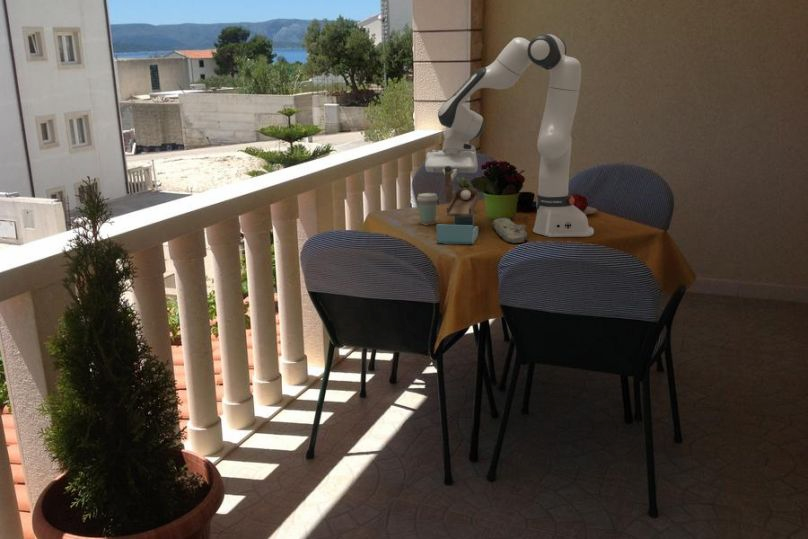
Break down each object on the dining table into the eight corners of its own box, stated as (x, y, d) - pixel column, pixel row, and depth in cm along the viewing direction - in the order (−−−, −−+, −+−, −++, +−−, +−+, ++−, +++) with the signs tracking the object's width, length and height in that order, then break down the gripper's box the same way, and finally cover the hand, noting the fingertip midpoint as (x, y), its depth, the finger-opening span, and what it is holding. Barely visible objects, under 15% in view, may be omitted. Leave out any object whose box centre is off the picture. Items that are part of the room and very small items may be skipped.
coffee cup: (436, 226, 292) (436, 196, 289) (415, 225, 294) (415, 196, 291) (439, 221, 300) (439, 192, 297) (419, 221, 302) (418, 192, 299)
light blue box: (477, 236, 273) (477, 218, 271) (472, 245, 261) (472, 225, 259) (443, 235, 276) (443, 217, 274) (436, 243, 264) (436, 224, 262)
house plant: (440, 212, 319) (439, 174, 315) (463, 207, 327) (463, 171, 323) (461, 216, 308) (461, 178, 304) (485, 212, 316) (485, 174, 312)
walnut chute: (479, 203, 286) (478, 159, 279) (471, 221, 269) (470, 175, 261) (450, 202, 289) (448, 159, 282) (440, 220, 272) (438, 174, 264)
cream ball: (472, 194, 283) (470, 187, 280) (470, 202, 281) (469, 195, 278) (461, 193, 284) (460, 187, 281) (460, 202, 282) (459, 195, 279)
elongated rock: (512, 227, 294) (487, 229, 294) (511, 214, 293) (487, 216, 292) (533, 243, 260) (505, 245, 260) (532, 228, 259) (504, 231, 258)
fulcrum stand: (478, 230, 283) (478, 206, 280) (475, 233, 277) (475, 209, 275) (452, 229, 285) (452, 206, 283) (449, 233, 280) (449, 209, 277)
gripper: (426, 145, 284) (420, 174, 277) (478, 146, 279) (474, 175, 272) (428, 155, 289) (423, 184, 283) (480, 156, 284) (476, 185, 278)
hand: (448, 180), depth 277 cm, fingers closed, pressing on walnut chute
